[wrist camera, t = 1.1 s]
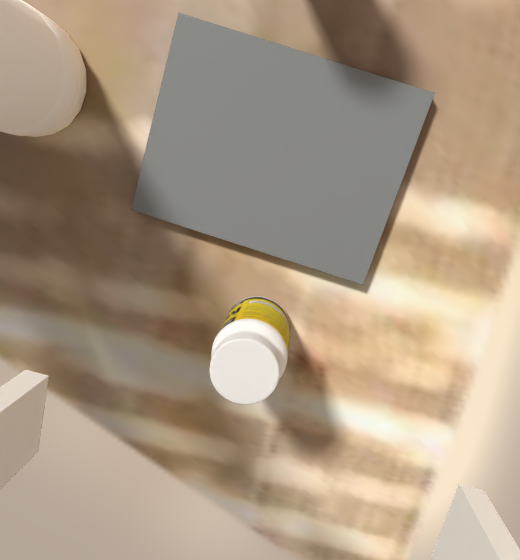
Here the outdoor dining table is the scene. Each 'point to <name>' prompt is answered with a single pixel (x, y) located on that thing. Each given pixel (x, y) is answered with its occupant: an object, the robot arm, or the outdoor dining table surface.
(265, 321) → the supplement bottle
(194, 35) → the slate mat
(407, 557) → the outdoor dining table surface
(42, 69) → the bottle
